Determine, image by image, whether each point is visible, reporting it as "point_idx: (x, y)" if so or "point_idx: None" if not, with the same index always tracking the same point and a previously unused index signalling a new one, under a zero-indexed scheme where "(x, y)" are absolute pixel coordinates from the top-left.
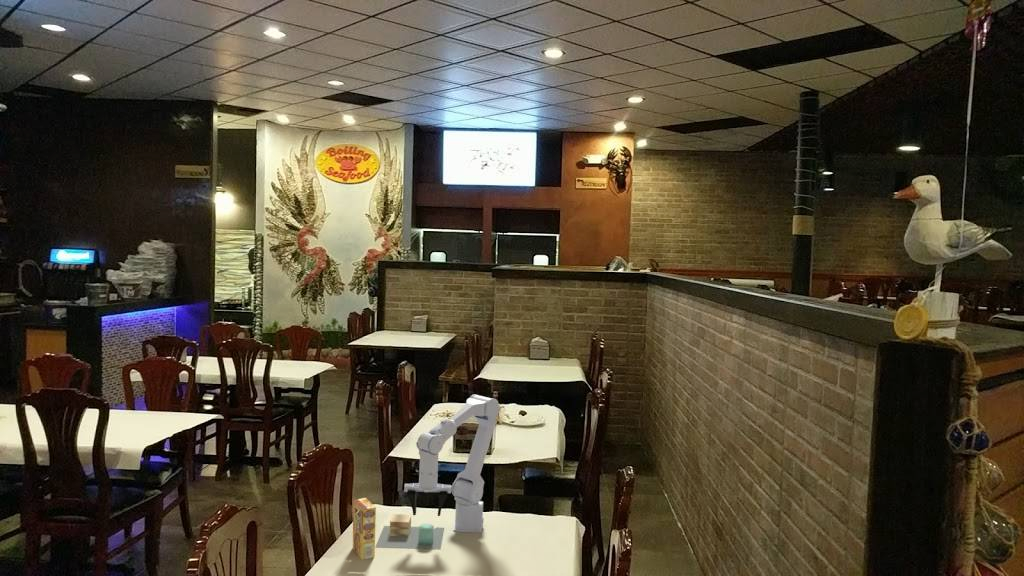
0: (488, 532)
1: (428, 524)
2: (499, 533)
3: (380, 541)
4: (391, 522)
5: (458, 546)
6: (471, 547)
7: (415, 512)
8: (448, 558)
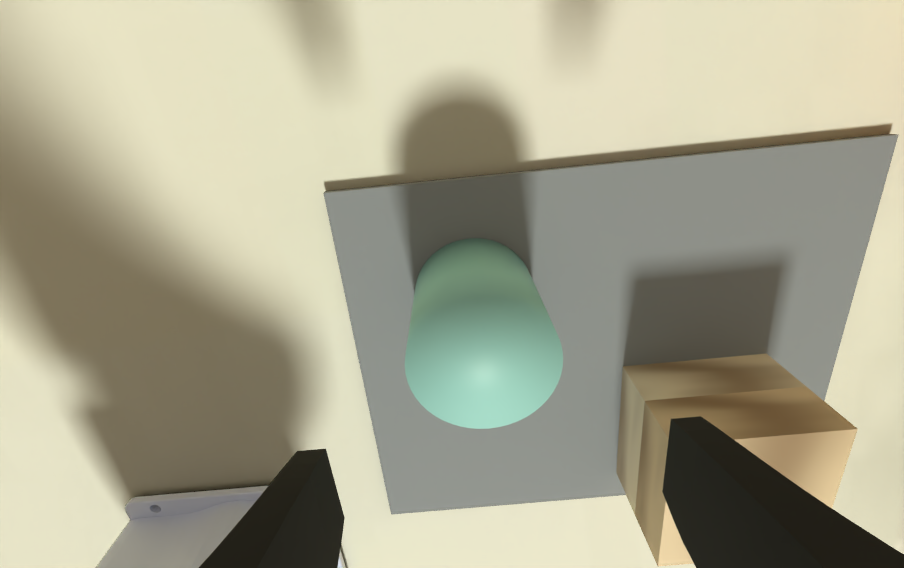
0: (90, 504)
1: (472, 416)
2: (14, 503)
3: (842, 252)
4: (836, 425)
5: (207, 282)
6: (100, 282)
7: (688, 458)
8: (205, 38)
